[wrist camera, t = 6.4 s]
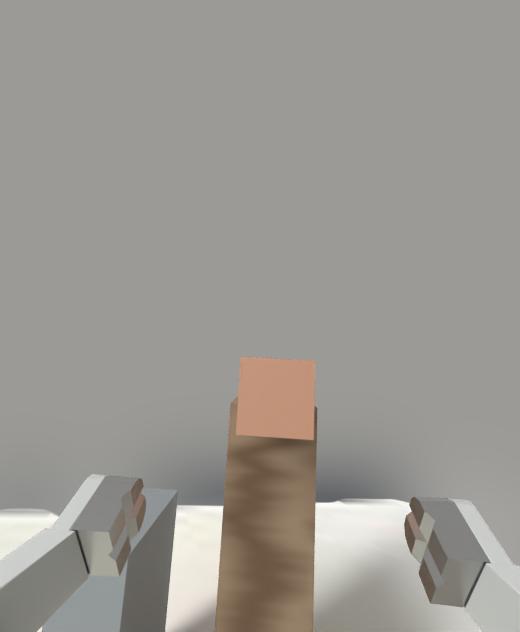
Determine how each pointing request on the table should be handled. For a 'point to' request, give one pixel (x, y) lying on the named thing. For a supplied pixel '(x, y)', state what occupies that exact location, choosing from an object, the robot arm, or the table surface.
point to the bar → (276, 398)
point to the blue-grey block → (128, 580)
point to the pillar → (267, 534)
